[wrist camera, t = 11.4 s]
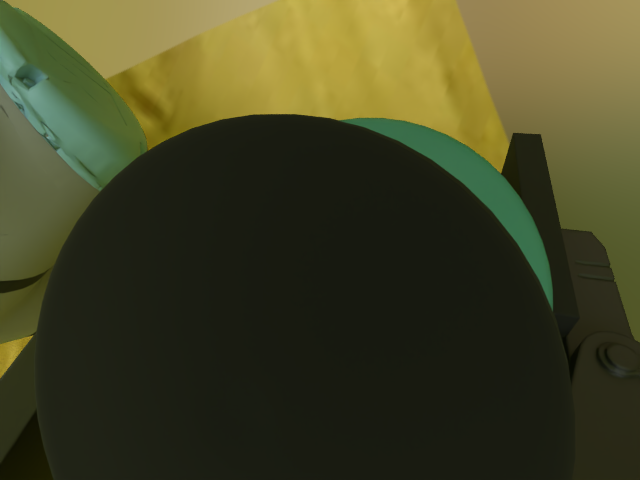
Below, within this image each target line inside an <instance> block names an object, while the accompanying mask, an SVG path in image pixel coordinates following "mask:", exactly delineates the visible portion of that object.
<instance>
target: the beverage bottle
mask: <svg viewBox="0 0 640 480" xmlns="http://www.w3.org/2000/svg"><path fill="white" fill-rule="evenodd" d="M34 385H35V398H36V407H37V417H38V422H39V427H40V432H41V437H42V442H43V446H44V450H45V453H46V457H47V460H48V463H49V467H50V470H51V473H52V476H53V479H54V480H572V476H573V470H574V463H575V409H574V402H573V395H572V388H571V380H570V373H569V366H568V360H567V356H566V353H565V349H564V345H563V342H562V338H561V335H560V331H559V327H558V324H557V320H556V318H555V315H554V313H553V287H552V280H551V272H550V265H549V262H548V258H547V255H546V251H545V248H544V244H543V241H542V239H541V236H540V234H539V232H538V229H537V227H536V225H535V222H534V220H533V218H532V216H531V214H530V213H529V211H528V209H527V208H526V206H525V204H524V203H523V201H522V199H521V198H520V196H519V195H518V194H517V193H516V191H515V190H514V189H513V187H512V186H511V185H510V184H509V182H508V181H507V180H506V179H505V177H503V176H502V175H501V174H500V173H499V172H498V171H497V170H496V169H495V168H494V167H493V166H492V165H491V164H490V163H489V162H488V161H487V160H485V159H484V158H483V157H481V156H480V155H479V154H477V153H476V152H475V151H473V150H472V149H471V148H469V147H468V146H466V145H464V144H462V143H461V142H459V141H457V140H455V139H453V138H452V137H450V136H448V135H446V134H443V133H441V132H438V131H436V130H433V129H431V128H428V127H426V126H422V125H418V124H414V123H410V122H406V121H401V120H394V119H386V118H356V119H347V120H339V121H338V120H334V119H331V118H323V117H314V116H305V115H297V114H291V115H290V114H264V115H248V116H242V117H235V118H229V119H223V120H219V121H216V122H212V123H209V124H205V125H202V126H199V127H195V128H192V129H190V130H188V131H185V132H183V133H181V134H179V135H177V136H174V137H172V138H170V139H168V140H166V141H164V142H162V143H160V144H159V145H157V146H155V147H154V148H152V149H150V150H149V151H147V152H145V153H144V154H142V155H140V156H138V157H137V158H136V159H135V160H134V161H132V162H131V163H130V164H129V165H128V166H126V167H125V168H124V169H123V170H122V171H120V172H119V173H118V174H117V175H116V176H115V177H114V178H113V179H112V180H111V181H110V182H109V183H108V184H107V185H106V186H105V187H104V188H103V189H102V190H101V191H100V192H99V193H98V195H97V196H96V197H95V198H94V199H93V200H92V202H91V203H90V204H89V206H88V207H87V208H86V210H85V211H84V212H83V214H82V215H81V216H80V218H79V219H78V221H77V222H76V224H75V225H74V227H73V229H72V231H71V232H70V234H69V236H68V238H67V239H66V241H65V243H64V245H63V246H62V248H61V251H60V253H59V255H58V258H57V260H56V262H55V264H54V267H53V269H52V271H51V274H50V277H49V280H48V284H47V287H46V290H45V294H44V297H43V300H42V305H41V310H40V315H39V320H38V325H37V331H36V342H35V353H34Z"/></svg>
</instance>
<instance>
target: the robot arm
mask: <svg viewBox="0 0 640 480" xmlns="http://www.w3.org/2000/svg"><path fill="white" fill-rule="evenodd" d="M145 152H147V141H146V137H145V134H144V132H143V129H142V128H141V126H140V124H139V122H138V120H137V119H136V117H135V115H134V114H133V113H132V111H131V110H130V108H129V107H128V106H127V104H126V103H125V102H124V101H123V99H122V98H121V97H120V96H119V95H118V93H117V92H116V91H115V90H114V89H113V88H112V87H111V86H110V84H109V83H108V82H107V81H106V80H105V79H104V78H103V77H102V76H101V75H100V74H99V73H98V72H97V71H96V70H95V69H94V68H93V67H92V66H91V65H90V64H89V63H88V62H87V61H86V60H85V59H84V58H83V57H82V56H81V55H79V54H78V53H77V52H76V51H75V50H74V49H73V48H71V47H70V46H69V45H68V44H67V43H66V42H64V41H63V40H62V39H61V38H60V37H58V36H57V35H56V34H55V33H53V32H52V31H51V30H50V29H48V28H47V27H45V26H44V25H43V24H42V23H40V22H39V21H37V20H36V19H34V18H33V17H32V16H30V15H29V14H27V13H26V12H24V11H22V10H20V9H19V8H13V7H12V6H10V5H9V4H8V3H6V2H5V1H3V0H0V344H2V343H5V342H9V341H13V340H17V339H21V338H24V337H28V336H32V335H34V336H33V337H32V338H31V340H30V341H29V342H28V344H27V345H26V346H25V347H24V349H23V350H22V351H21V353H20V354H19V355H18V357H17V358H16V359H15V360H14V362H13V363H12V364H11V366H10V367H9V368H8V370H7V371H6V372H5V373H4V375H3V376H2V377H1V379H0V480H54V479H53V476H52V473H51V470H50V467H49V463H48V460H47V457H46V453H45V450H44V446H43V442H42V437H41V432H40V427H39V422H38V417H37V407H36V398H35V385H34V353H35V342H36V331H37V325H38V320H39V315H40V310H41V305H42V300H43V297H44V294H45V290H46V287H47V284H48V280H49V277H50V274H51V271H52V269H53V267H54V264H55V262H56V260H57V258H58V255H59V253H60V251H61V248H62V246H63V245H64V243H65V241H66V239H67V238H68V236H69V234H70V232H71V231H72V229H73V227H74V225H75V224H76V222H77V221H78V219H79V218H80V216H81V215H82V214H83V212H84V211H85V210H86V208H87V207H88V206H89V204H90V203H91V202H92V200H93V199H94V198H95V197H96V196H97V195H98V193H99V192H100V191H101V190H102V189H103V188H104V187H105V186H106V185H107V184H108V183H109V182H110V181H111V180H112V179H113V178H114V177H115V176H116V175H117V174H118V173H119V172H120V171H122V170H123V169H124V168H125V167H126V166H128V165H129V164H130V163H131V162H132V161H134V160H135V159H136V158H137V157H138V156H140V155H142V154H144V153H145ZM501 175H502V176H503V177H505V179H506V180H507V181H508V182H509V184H510V185H511V186H512V187H513V189H514V190H515V191H516V193H517V194H518V195H519V196H520V198H521V199H522V201H523V203H524V204H525V206H526V208H527V209H528V211H529V213H530V214H531V216H532V218H533V220H534V222H535V225H536V227H537V229H538V232H539V234H540V236H541V239H542V241H543V244H544V248H545V251H546V255H547V258H548V262H549V265H550V272H551V280H552V287H553V313H554V315H555V318H556V320H557V324H558V327H559V331H560V335H561V338H562V342H563V345H564V349H565V353H566V356H567V360H568V366H569V373H570V380H571V388H572V395H573V402H574V409H575V463H574V470H573V476H572V480H640V343H639V342H638V341H636V340H635V339H634V337H633V335H632V333H631V330H630V327H629V323H628V320H627V317H626V314H625V310H624V308H623V304H622V301H621V298H620V294H619V291H618V288H617V285H616V282H614V275H613V272H612V269H611V268H610V262H609V259H608V256H607V252H606V249H605V247H604V246H603V245H602V244H601V242H600V241H599V240H598V239H597V238H596V237H595V236H594V235H593V233H592V232H587V231H579V230H569V229H561V227H560V222H559V218H558V213H557V208H556V203H555V199H554V195H553V190H552V185H551V180H550V176H549V171H548V167H547V162H546V157H545V152H544V148H543V143H542V138H541V135H540V134H523V133H513V136H512V139H511V142H510V146H509V149H508V153H507V156H506V159H505V163H504V166H503V169H502V173H501Z"/></svg>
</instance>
